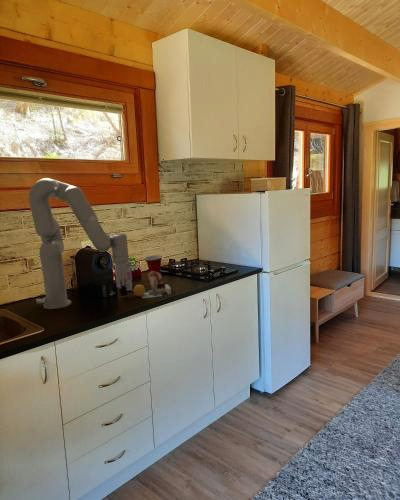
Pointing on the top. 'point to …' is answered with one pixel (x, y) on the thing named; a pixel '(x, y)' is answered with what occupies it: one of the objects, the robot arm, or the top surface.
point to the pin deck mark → (146, 295)
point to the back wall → (168, 289)
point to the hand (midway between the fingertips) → (123, 295)
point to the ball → (139, 290)
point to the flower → (156, 275)
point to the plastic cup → (154, 263)
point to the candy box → (129, 277)
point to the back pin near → (154, 287)
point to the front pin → (160, 291)
